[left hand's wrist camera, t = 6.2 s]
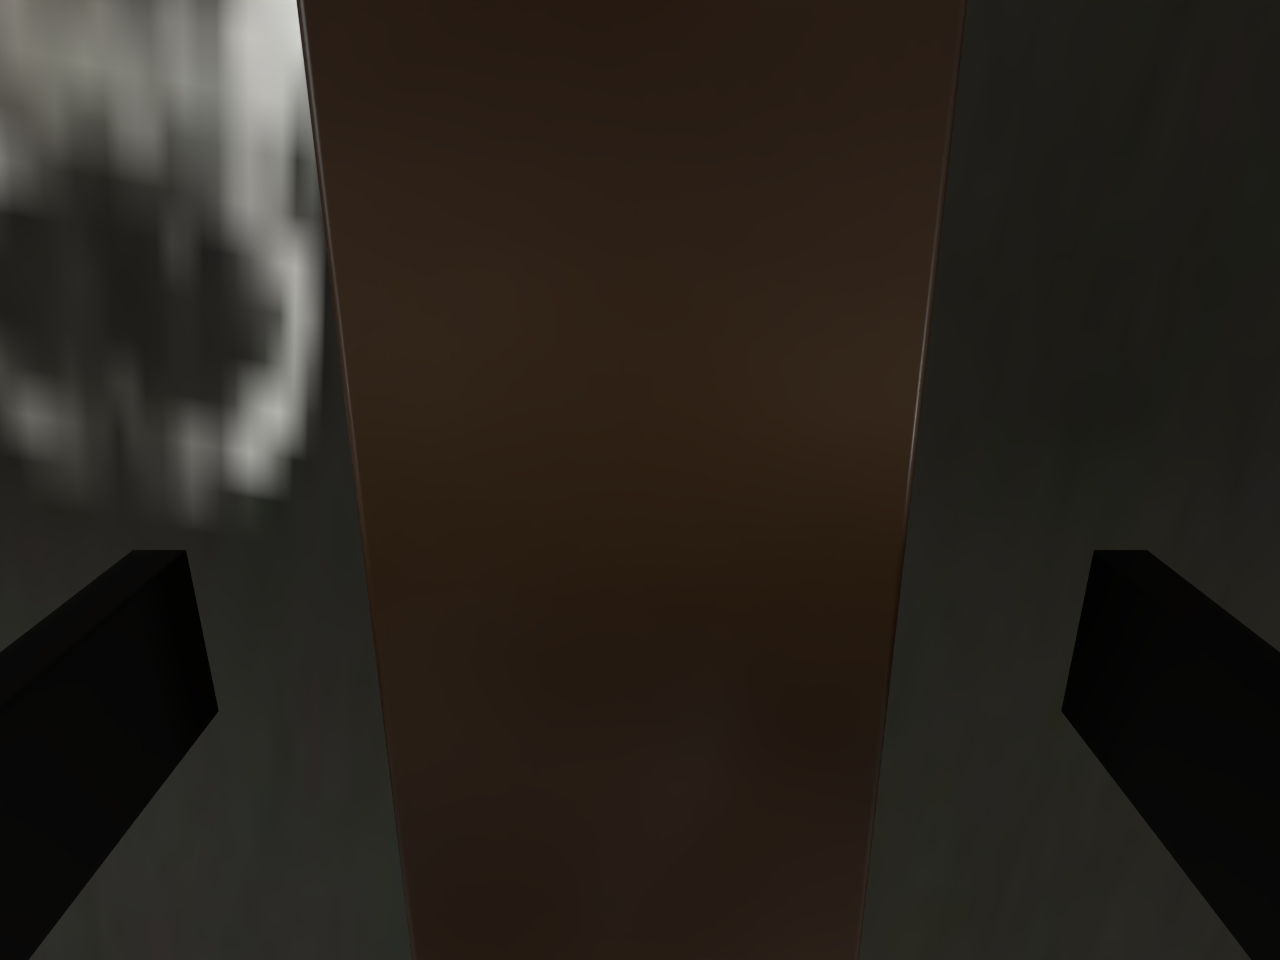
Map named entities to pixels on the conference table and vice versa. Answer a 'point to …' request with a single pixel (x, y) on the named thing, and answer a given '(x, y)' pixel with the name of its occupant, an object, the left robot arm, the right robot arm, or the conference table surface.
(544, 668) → the bar
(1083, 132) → the conference table surface
